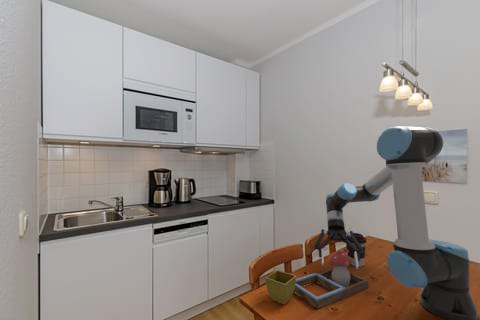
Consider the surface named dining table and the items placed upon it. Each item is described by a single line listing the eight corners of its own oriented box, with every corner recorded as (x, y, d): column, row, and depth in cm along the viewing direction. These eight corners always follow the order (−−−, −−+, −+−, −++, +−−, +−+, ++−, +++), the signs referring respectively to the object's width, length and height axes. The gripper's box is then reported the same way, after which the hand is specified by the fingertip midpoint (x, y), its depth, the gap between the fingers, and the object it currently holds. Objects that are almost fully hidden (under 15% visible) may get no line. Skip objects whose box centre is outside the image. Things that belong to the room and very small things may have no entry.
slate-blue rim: (345, 289, 92) (345, 288, 92) (317, 301, 85) (317, 299, 85) (316, 273, 105) (316, 272, 105) (289, 282, 98) (289, 281, 98)
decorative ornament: (349, 281, 104) (348, 246, 105) (355, 289, 98) (354, 252, 98) (327, 281, 105) (326, 246, 105) (332, 288, 98) (331, 252, 99)
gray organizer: (368, 287, 98) (368, 280, 99) (317, 309, 85) (317, 300, 85) (338, 273, 112) (337, 267, 112) (289, 289, 98) (289, 282, 98)
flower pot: (277, 291, 97) (276, 269, 97) (297, 298, 92) (296, 275, 92) (265, 301, 90) (264, 277, 91) (286, 310, 85) (285, 284, 85)
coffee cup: (371, 268, 117) (370, 237, 117) (350, 268, 117) (349, 237, 117) (361, 259, 127) (360, 231, 127) (342, 260, 127) (341, 231, 127)
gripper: (363, 227, 114) (371, 273, 100) (309, 224, 122) (309, 266, 107) (365, 219, 109) (374, 265, 95) (308, 216, 117) (309, 259, 102)
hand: (339, 266), depth 101 cm, fingers open, 13 cm apart
